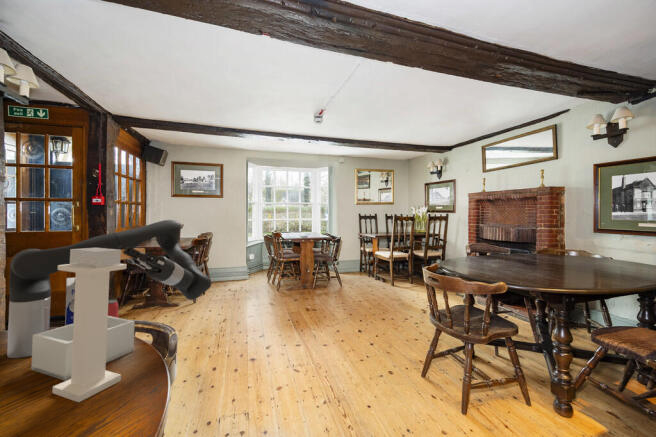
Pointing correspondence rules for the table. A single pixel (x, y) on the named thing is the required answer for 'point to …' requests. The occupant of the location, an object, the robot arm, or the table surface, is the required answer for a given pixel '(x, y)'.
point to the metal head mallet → (98, 256)
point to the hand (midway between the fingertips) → (122, 249)
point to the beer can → (113, 308)
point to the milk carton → (70, 301)
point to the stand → (89, 334)
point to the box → (57, 346)
